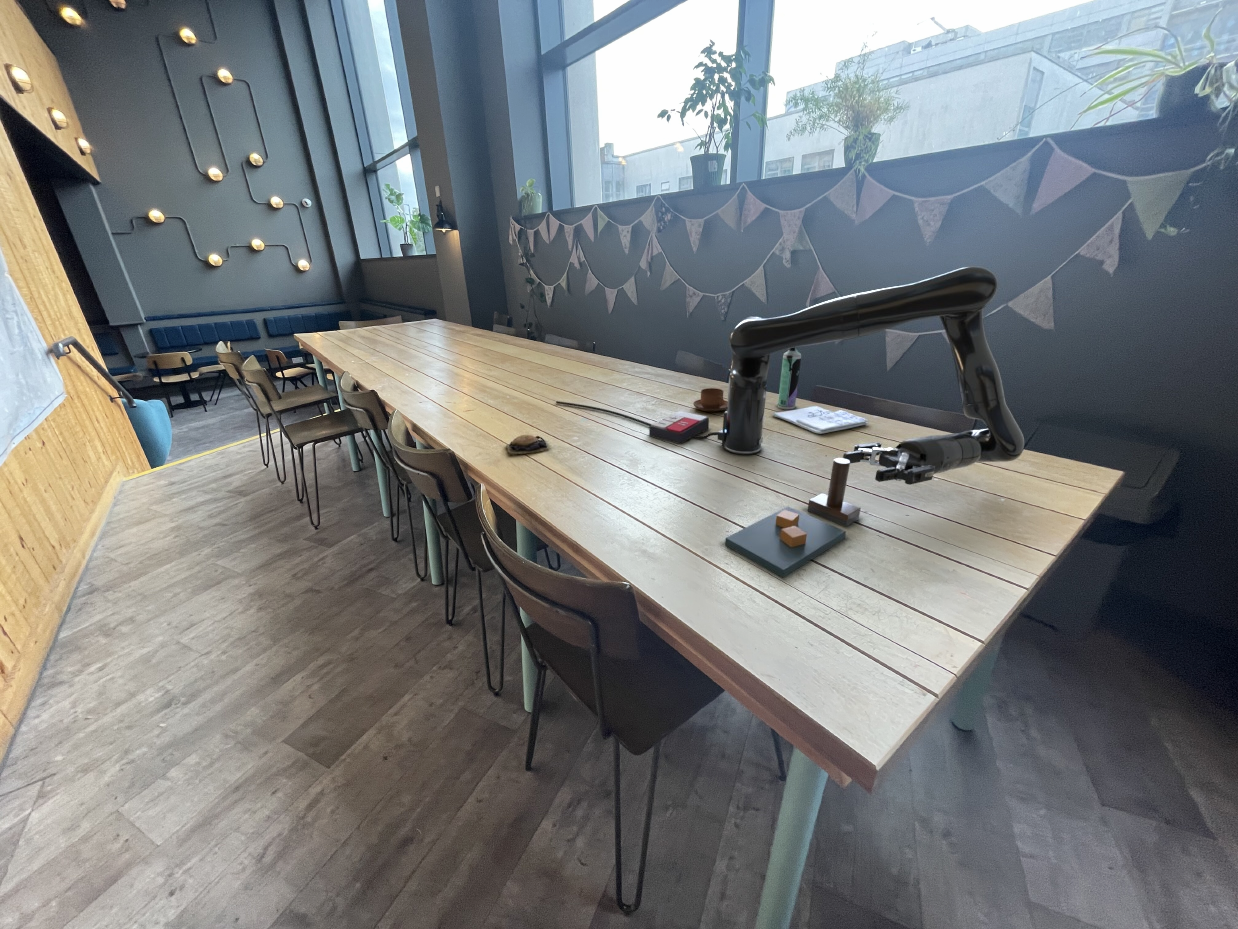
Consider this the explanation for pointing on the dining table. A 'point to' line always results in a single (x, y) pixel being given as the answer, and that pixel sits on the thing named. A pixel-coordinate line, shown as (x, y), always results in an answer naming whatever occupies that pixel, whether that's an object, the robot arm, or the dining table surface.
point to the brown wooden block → (787, 519)
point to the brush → (836, 497)
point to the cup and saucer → (711, 400)
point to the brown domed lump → (526, 445)
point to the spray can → (789, 379)
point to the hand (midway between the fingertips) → (860, 467)
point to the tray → (777, 555)
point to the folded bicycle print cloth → (821, 419)
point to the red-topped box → (679, 427)
